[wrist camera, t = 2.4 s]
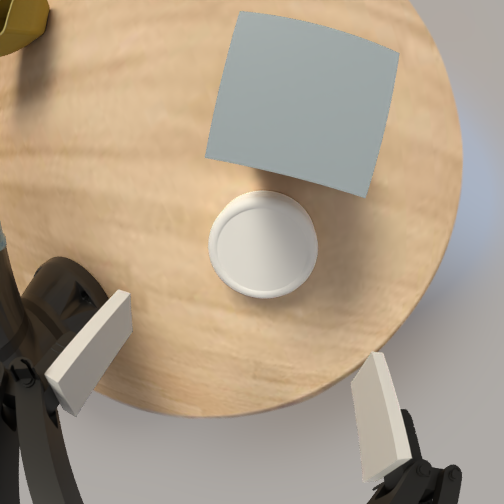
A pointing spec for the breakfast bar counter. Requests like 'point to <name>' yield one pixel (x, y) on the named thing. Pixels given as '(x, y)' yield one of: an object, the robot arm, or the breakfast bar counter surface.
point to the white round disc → (263, 244)
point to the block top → (303, 102)
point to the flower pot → (21, 23)
